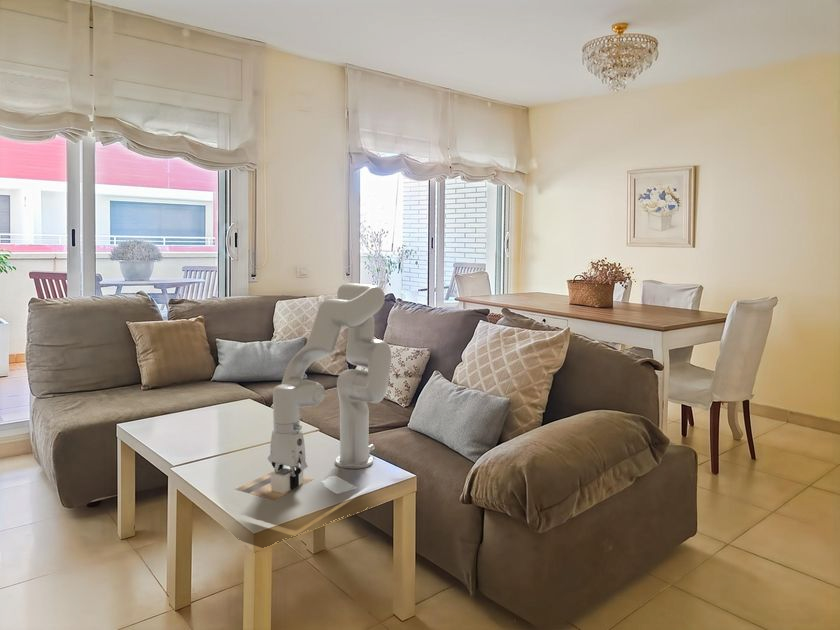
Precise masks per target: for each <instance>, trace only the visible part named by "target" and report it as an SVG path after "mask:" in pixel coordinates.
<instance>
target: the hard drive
mask: <svg viewBox="0 0 840 630" xmlns="http://www.w3.org/2000/svg"><path fill="white" fill-rule="evenodd" d="M321 483H323V487H325V488H326V489H328V490H330V491H331V492H332V493H335V494H337V495H339V494H341V493H344V492H349V491H352V490H355V489H357V488H358V487H357V486H356V485H353V484H352V483H350V482H349V481H348V482H347V481H346V480H344V479H342V478H340V477H339V476H336V475H331V476H328V477H327V478H325V479H322V480H321Z"/></svg>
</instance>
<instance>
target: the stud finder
mask: <svg viewBox="0 0 840 630" xmlns="http://www.w3.org/2000/svg"><path fill="white" fill-rule="evenodd" d="M294 468H295V467H294ZM295 470H296V468H295ZM290 476H292V475H291V470H290V466H284V468H283V469H281V470H279V471H276V472H274V473H272V474H271V489H272V491H276V492H279V493H283V494H284V493H285V492H287V491H289V490H291V489H290ZM303 476H304V470H303V471H302V472H301V473H300V474H299V485H300V484H302V483H303Z"/></svg>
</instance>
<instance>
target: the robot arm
mask: <svg viewBox="0 0 840 630" xmlns="http://www.w3.org/2000/svg"><path fill="white" fill-rule="evenodd" d="M336 292H337V293H336V295H337V298H328V299H325V300H323V301H322V302H320V304H319V307H318V309H317V312H316V315H315V319H314V321H313V324H312V328H311V329H310V333H309V337H308V339H307V342H306V344H305V345H304V346H303V347H302V348H300V350H299V351H297V352H296V354H295V355H294V356H293V357H292V358H291V359H290V361H289V362H288V364H287V366H286V369H285V371H284V373H283V376H282V380H281V384H278V385H276V386H275V387H273V389H272V390H273V391H272V408H273V409H272V411H273V412H272V413H273V421H272V422H273V429H272V432H271V438H270V447H269V449H270V451H269V452H270V453H269V455H268V457H267V461H269V463H270V464H271V466H272V467H273V469H274V470H273V471H275V472H276V471H279V470H281V469H283V468H285V467H287V466H290V470H291V475H292V476H290V489H292V490H293V489H294V488H296V487H298V486H299V474H300V473H301V472H302V471H303V472H304V470H305V469H307V468H308V464H307V462H306V446H305V445H306V444H305V439H304V434H303V431H302V429H303V428H302V427H303V426H302V425H301V423H300V422H301V420H300V414H301V413H300V409H301V408H310V407H315V406H318V405H320V404H321V403H322V402H323V400H324V399H325V397H326V390H325V388H324V386H323V385H322V384H321V383H320V382H317V381H314V380H310V379H305V378H304V375H305V373H306V371H307V370H308V369H309V367H310V366H311V364H312V365H313V363H314V362H316V361H318V360H320V359H323V358H325V357H327V356H329V355H331V354H333V353H334V351H335V349H336V345H337V342H338V338H339V336H340V332H341V331H342V330H341V329H342V328H345V329H348V332H347V338H346V339H347V340H346V347H345V358H346V359H345V360H346V361H347V362H348V363H349V364H350V365H353V366H358V367H363V368H367V371H365V370H361V369H355V368H350V369H345V370H343V371H342V372H340V374H339V375H338V376H337V379H336V391H337V394H338V401H339V455H338V456H337V457H336V458H335V464H336V466H338V467H340V468H342V469H349V470H350V469H351V470H355V469H356V470H357V469H358V470H359V469H363V468H368V467H369V466H371V465H373V463H374V457H373V456H372V455H371V454H370V453H371V451H373V450H375V448H376V446H375V444H373V443H372V444H370V442H369V438H370V437H369V435H370V434H369V431H370V430H369V427H370V424H369V422H370V421H369V420H370V419H369V417H370V416H369V415H370V413H369V411H370V410H369V405H368V403H372V404H378V403H380V402H382V401H383V400H384V398H385V396H386V395H387V392H388V388H389V387H388V386H389V381H390V380H389V379H390V372H391V365H392V364H391V363H392V350H391V348H390V345H389V344H388V343H387V342H386V341H384V340H382V339H376V338H375V329H376V328H375V327H376V325H375V324H376V323H375V317H374V315H375V314H377V313H379V311H380V310H381V309H382V308H383V305H384V304H385V300H386V296H385V292H384V290H383V289H382V288H381V287H379V285H375V284H365V283H364V284H362V283H351V282H350V283H343V284H341V285H340V286H339V287H338V289H337V291H336ZM294 467H295V468H296V470H295V468H294ZM293 491H294V490H293Z"/></svg>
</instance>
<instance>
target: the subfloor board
mask: <svg viewBox="0 0 840 630" xmlns="http://www.w3.org/2000/svg"><path fill="white" fill-rule="evenodd" d="M274 472H275V471H274V470H273V471H271V472H269V473H266V474H265V475H263V476H261V477H259V478H256V479H254V480H252V481H249V482H248V483H245V484H243V485H242V486H239V487H237V488H235V490H236V491H240V492H244V493H247V494H250V495H254V496H258V497H262V498H264V499H268V500H271V501H276V500H278V499H279V498H281V497H283V496H286V495H287V494H289V493H291V492H292V491H294V490H297V489H298V488H300V487H302V486H304V485H306V484H308V483H310V482H312V481H314V480H315V478H313V477H309V476H304V475H303V483H302V484H300V485H299V486H298V487H296V488H294V489H293V490H292V489H291V490H289V491H287V492H285V493H284V494H283V493H279V492H276V491H272V489H271V474H272V473H274Z"/></svg>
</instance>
